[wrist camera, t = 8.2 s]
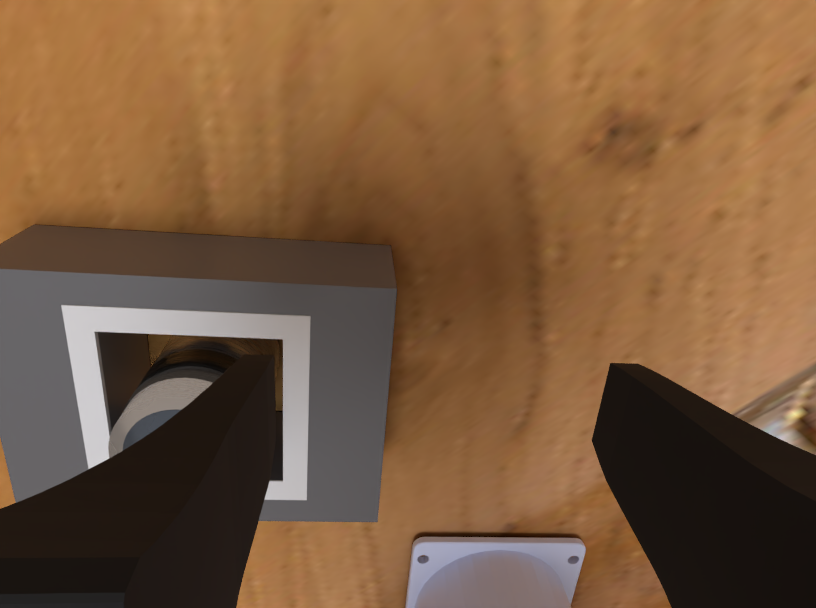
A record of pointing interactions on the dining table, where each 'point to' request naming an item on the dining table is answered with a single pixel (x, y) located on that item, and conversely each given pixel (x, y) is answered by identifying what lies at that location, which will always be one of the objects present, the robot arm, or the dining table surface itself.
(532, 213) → the dining table surface
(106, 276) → the grey hollow block
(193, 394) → the lens
